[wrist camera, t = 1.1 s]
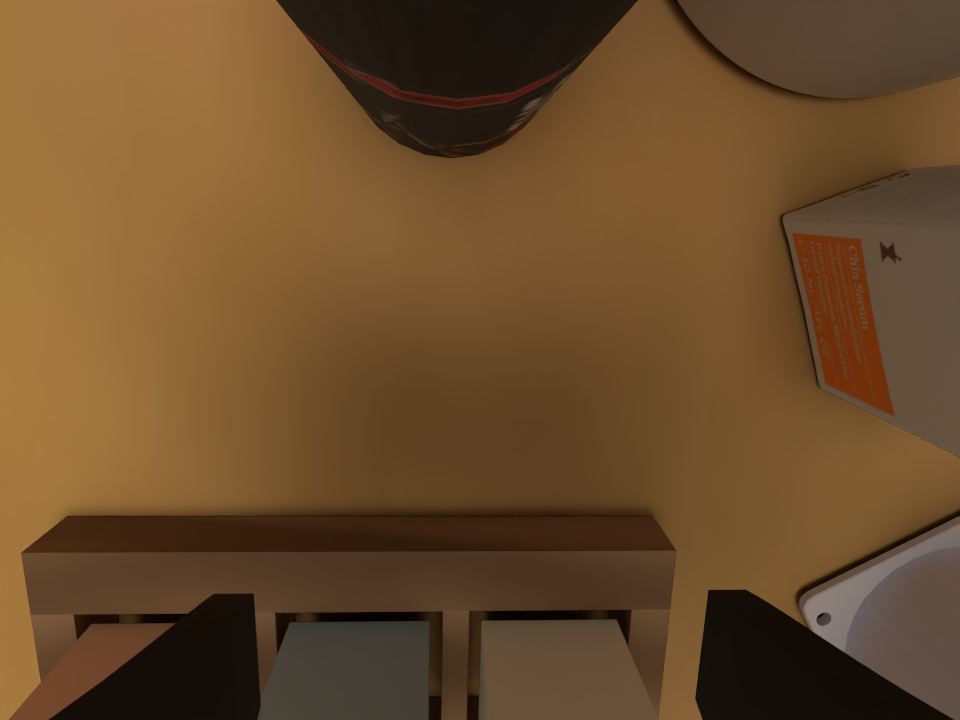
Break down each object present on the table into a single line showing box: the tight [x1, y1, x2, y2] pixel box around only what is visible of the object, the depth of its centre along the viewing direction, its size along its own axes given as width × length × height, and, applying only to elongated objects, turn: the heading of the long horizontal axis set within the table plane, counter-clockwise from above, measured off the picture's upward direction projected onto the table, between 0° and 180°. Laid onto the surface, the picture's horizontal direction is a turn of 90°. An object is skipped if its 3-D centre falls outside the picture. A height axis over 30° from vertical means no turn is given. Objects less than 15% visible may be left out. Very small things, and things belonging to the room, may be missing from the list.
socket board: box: [21, 516, 676, 720], centre depth 20 cm, size 9×19×2 cm, turn 88°
